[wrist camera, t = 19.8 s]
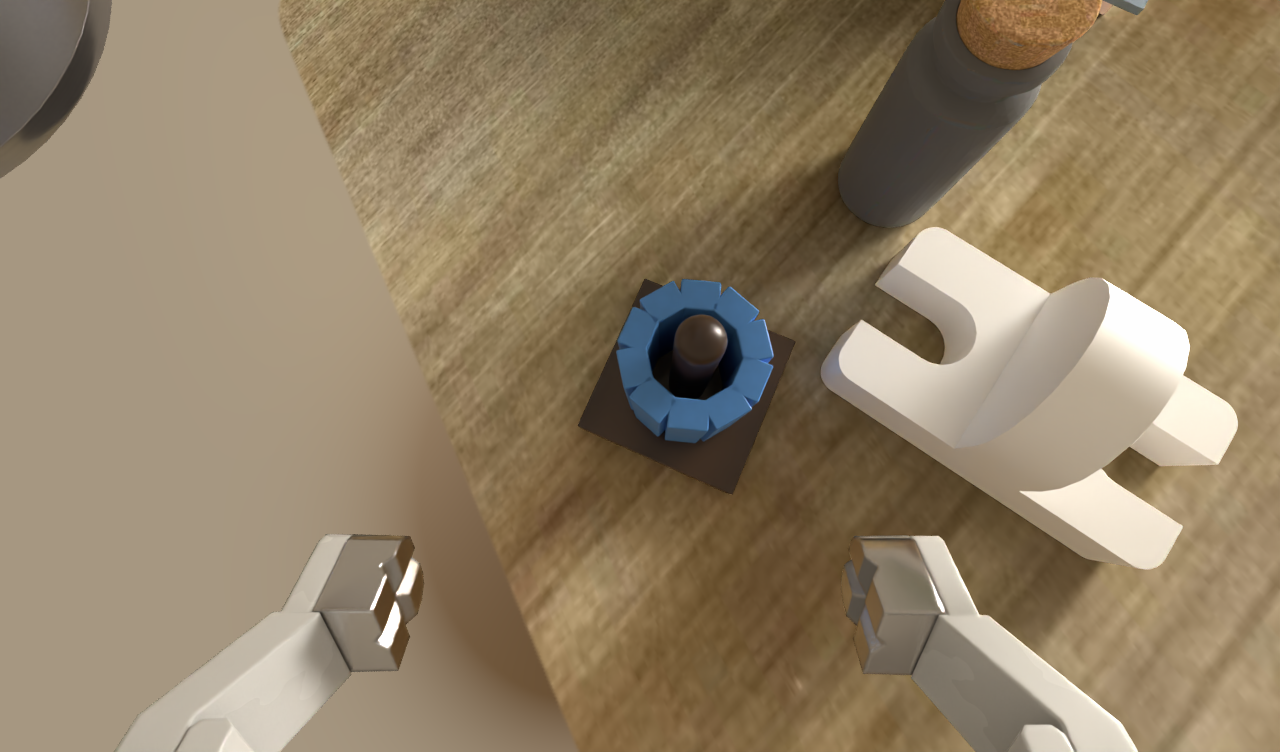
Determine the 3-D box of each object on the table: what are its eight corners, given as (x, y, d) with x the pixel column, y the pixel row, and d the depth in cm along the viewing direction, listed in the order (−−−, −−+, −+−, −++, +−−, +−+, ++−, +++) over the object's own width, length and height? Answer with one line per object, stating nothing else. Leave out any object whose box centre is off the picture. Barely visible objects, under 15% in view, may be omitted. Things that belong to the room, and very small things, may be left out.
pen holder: (606, 414, 34) (592, 394, 26) (656, 305, 35) (656, 255, 27) (716, 462, 34) (735, 457, 26) (763, 351, 34) (795, 313, 27)
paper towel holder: (580, 428, 36) (537, 398, 23) (645, 286, 37) (639, 182, 24) (729, 494, 35) (771, 502, 22) (790, 346, 36) (864, 272, 23)
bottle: (947, 152, 38) (1135, -61, 23) (922, 241, 37) (1102, 80, 22) (851, 125, 38) (975, -101, 23) (825, 212, 37) (936, 35, 22)
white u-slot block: (1101, 569, 34) (1291, 606, 24) (812, 378, 36) (873, 337, 26) (1186, 421, 35) (1402, 396, 25) (901, 244, 37) (994, 154, 27)
